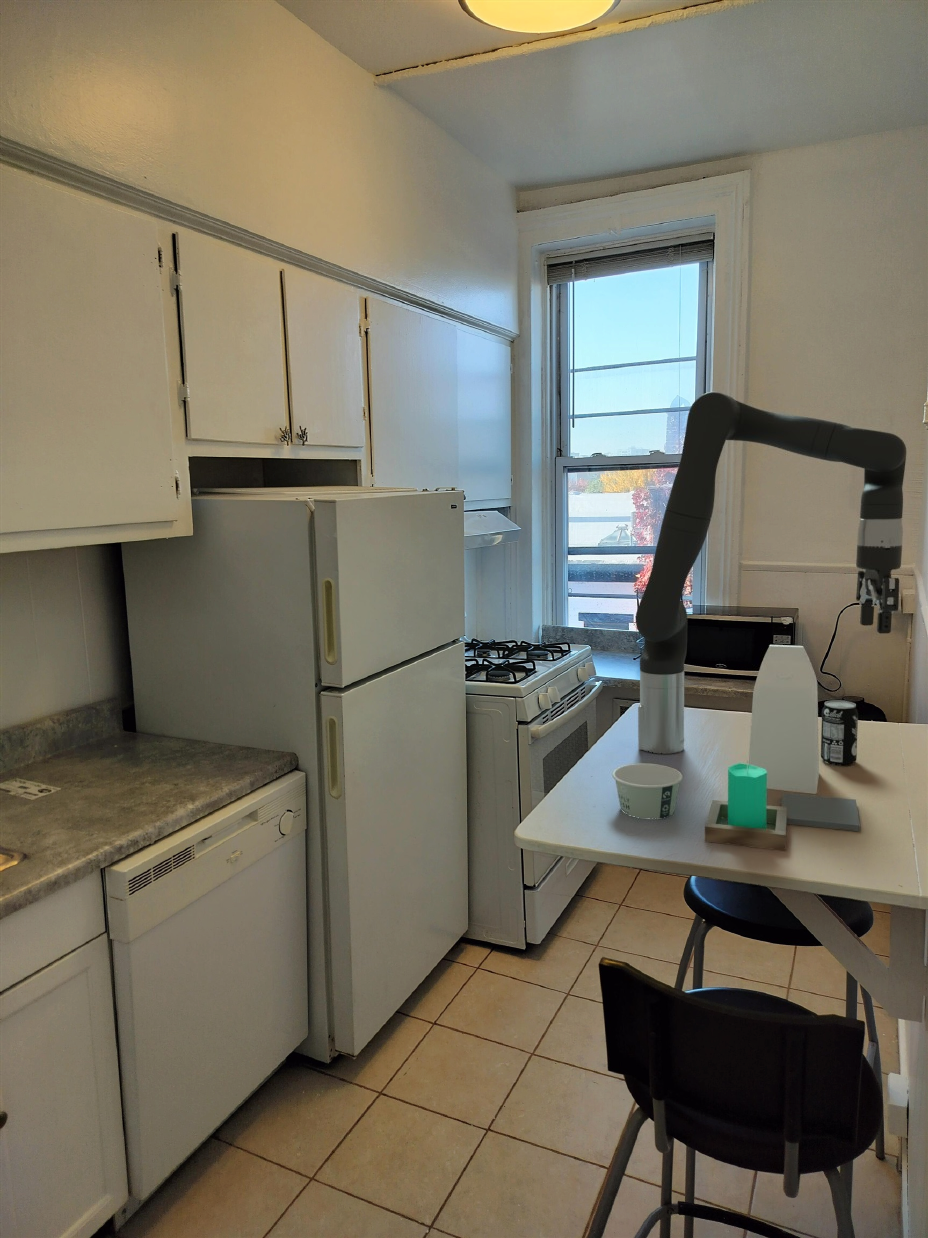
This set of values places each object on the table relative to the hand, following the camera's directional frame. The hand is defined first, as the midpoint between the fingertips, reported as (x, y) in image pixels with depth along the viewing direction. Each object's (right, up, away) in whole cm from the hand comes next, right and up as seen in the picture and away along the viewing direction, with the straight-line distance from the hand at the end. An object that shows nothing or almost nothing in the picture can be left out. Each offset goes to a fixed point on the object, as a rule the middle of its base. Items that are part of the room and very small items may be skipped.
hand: (874, 629), depth 159 cm
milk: (-17, -29, +2) cm, 33 cm away
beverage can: (-2, -27, +11) cm, 29 cm away
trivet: (-17, -31, -15) cm, 39 cm away
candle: (-31, -33, -21) cm, 50 cm away
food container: (-45, -32, -10) cm, 56 cm away
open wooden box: (-31, -33, -21) cm, 50 cm away
